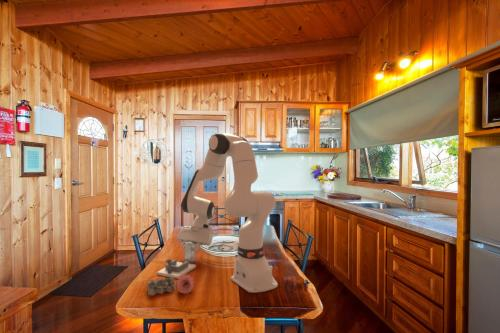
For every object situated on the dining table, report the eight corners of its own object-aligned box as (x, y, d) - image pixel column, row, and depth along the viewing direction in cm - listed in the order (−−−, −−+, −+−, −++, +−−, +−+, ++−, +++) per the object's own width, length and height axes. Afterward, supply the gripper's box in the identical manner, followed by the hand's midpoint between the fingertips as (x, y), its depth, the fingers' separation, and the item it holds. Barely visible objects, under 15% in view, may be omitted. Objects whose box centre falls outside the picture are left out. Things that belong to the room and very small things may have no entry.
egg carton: (147, 297, 102) (147, 287, 102) (146, 288, 109) (146, 279, 109) (175, 292, 106) (175, 282, 106) (173, 284, 113) (173, 274, 113)
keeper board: (175, 263, 135) (175, 248, 135) (195, 267, 131) (195, 251, 131) (155, 275, 121) (155, 258, 121) (177, 279, 117) (177, 262, 117)
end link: (194, 260, 140) (194, 241, 140) (190, 262, 137) (190, 243, 137) (188, 259, 141) (188, 241, 141) (184, 261, 138) (184, 243, 138)
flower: (175, 273, 110) (180, 269, 106) (193, 278, 113) (198, 274, 109) (170, 293, 104) (175, 290, 101) (189, 298, 107) (194, 295, 104)
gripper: (180, 223, 149) (169, 245, 140) (212, 226, 142) (203, 249, 133) (185, 229, 153) (175, 250, 144) (216, 232, 146) (207, 255, 137)
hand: (188, 250), depth 138 cm, fingers open, 5 cm apart
